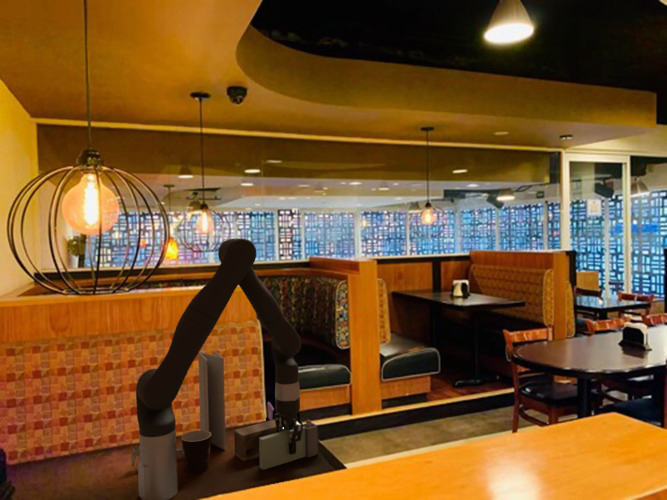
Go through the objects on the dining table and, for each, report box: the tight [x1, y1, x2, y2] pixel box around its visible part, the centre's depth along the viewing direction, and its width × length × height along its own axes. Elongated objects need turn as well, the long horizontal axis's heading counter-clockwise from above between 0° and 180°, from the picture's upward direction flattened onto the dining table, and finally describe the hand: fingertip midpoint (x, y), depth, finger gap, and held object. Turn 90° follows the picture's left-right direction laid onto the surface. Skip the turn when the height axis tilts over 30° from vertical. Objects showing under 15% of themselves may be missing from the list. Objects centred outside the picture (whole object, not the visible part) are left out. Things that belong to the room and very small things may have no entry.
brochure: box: [197, 349, 227, 451], centre depth 170 cm, size 14×6×30 cm, turn 25°
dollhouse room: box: [265, 401, 303, 424], centre depth 189 cm, size 12×12×7 cm
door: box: [259, 421, 320, 471], centre depth 156 cm, size 19×4×9 cm, turn 126°
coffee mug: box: [180, 430, 212, 475], centre depth 153 cm, size 12×9×10 cm
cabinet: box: [233, 419, 312, 462], centre depth 160 cm, size 20×15×11 cm
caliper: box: [130, 445, 184, 467], centre depth 157 cm, size 20×1×6 cm, turn 117°
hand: (288, 451), depth 156 cm, fingers open, 4 cm apart
